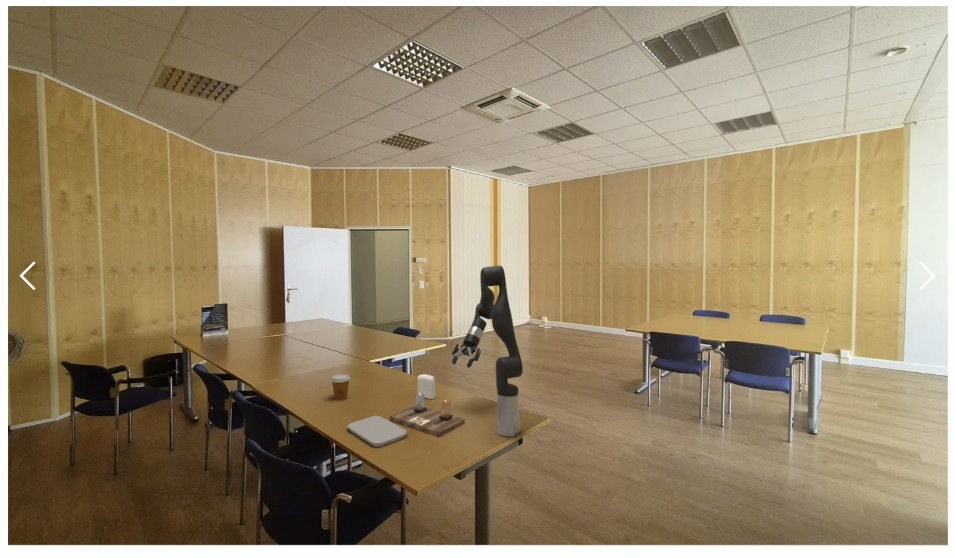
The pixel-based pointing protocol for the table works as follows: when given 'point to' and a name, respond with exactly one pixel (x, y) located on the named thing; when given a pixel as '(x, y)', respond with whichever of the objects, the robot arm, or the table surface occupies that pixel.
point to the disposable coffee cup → (340, 386)
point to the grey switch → (420, 402)
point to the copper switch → (445, 410)
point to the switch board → (427, 421)
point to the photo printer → (426, 385)
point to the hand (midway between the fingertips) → (460, 365)
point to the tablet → (377, 431)
